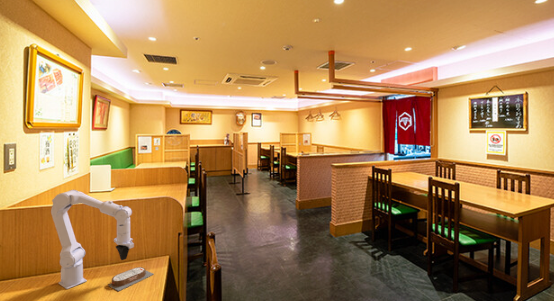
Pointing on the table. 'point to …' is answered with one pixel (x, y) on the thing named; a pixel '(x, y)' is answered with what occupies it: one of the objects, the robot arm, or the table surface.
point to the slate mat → (131, 282)
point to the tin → (128, 276)
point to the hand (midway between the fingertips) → (123, 259)
